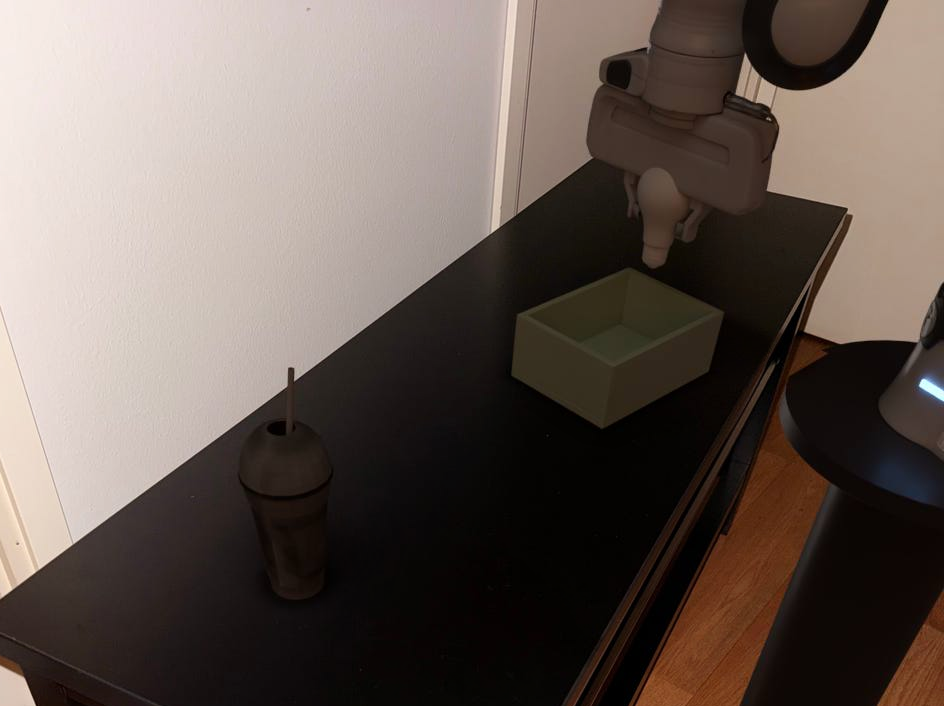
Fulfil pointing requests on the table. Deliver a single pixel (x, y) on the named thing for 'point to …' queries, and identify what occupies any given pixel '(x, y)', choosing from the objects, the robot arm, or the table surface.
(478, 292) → the table surface
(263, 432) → the beverage cup
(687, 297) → the bin
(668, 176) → the lightbulb
